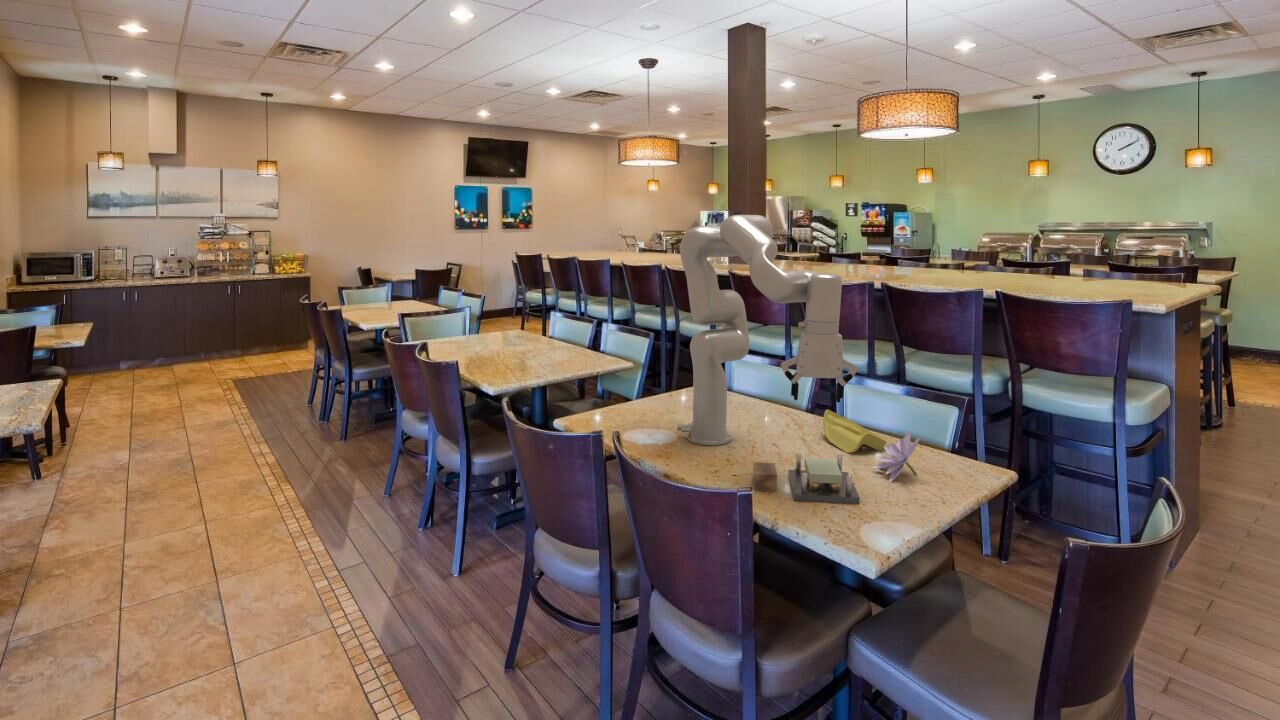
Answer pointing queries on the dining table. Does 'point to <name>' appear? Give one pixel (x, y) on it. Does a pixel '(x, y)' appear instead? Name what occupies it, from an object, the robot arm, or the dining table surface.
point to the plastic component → (849, 433)
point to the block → (765, 477)
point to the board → (823, 470)
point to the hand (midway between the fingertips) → (816, 399)
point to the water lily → (898, 456)
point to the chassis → (822, 486)
